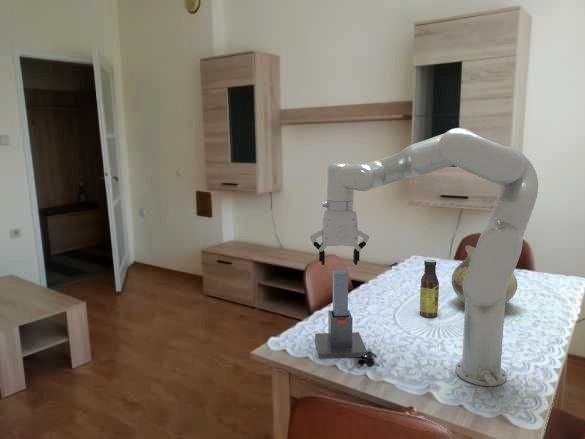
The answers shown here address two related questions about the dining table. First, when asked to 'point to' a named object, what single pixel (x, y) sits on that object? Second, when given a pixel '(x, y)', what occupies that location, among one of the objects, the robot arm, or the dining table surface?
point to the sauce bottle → (429, 290)
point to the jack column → (340, 293)
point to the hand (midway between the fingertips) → (339, 263)
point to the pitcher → (461, 271)
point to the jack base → (339, 339)
